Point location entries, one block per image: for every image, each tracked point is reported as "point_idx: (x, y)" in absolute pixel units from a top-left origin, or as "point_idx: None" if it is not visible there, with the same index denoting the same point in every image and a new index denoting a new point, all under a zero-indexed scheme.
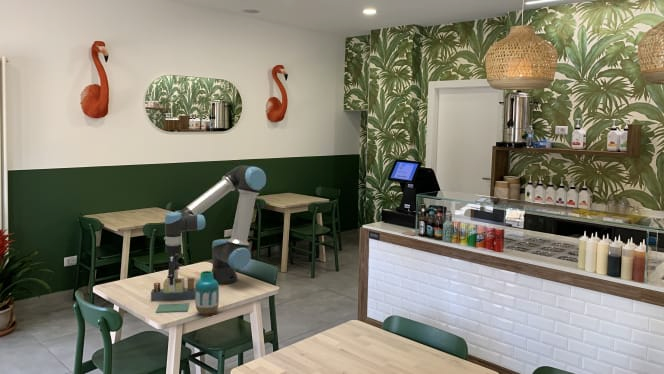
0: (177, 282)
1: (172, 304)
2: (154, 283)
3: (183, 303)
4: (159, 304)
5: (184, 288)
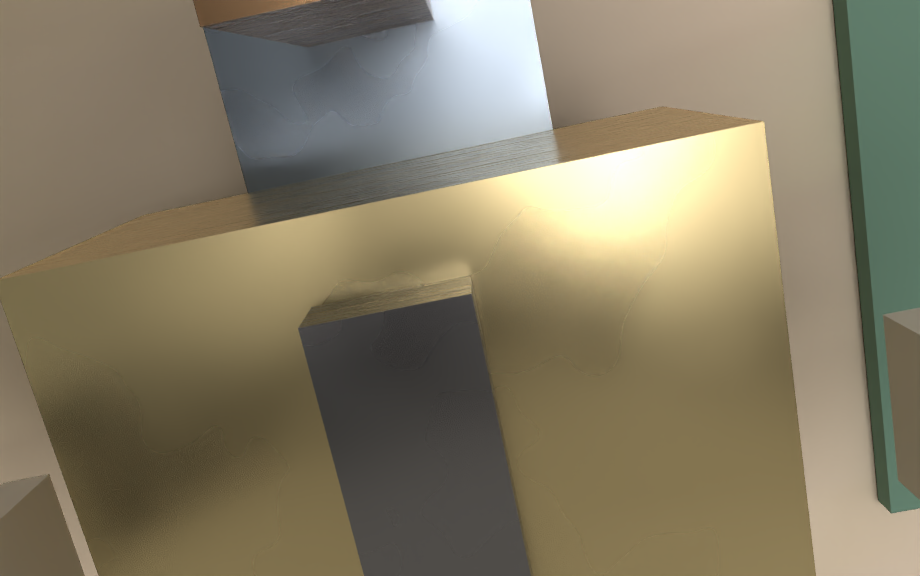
0: (639, 377)
1: (917, 241)
2: None
3: (856, 8)
4: (901, 499)
5: (284, 169)
